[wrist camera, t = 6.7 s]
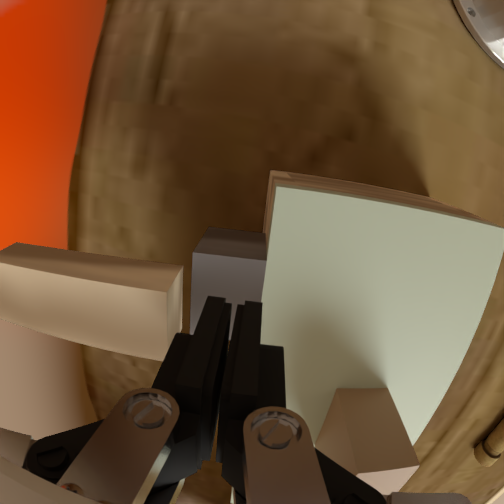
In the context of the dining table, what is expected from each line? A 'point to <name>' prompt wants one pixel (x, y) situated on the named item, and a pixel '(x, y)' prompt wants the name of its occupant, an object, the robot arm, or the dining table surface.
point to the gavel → (491, 446)
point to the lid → (372, 318)
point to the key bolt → (93, 298)
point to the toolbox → (255, 244)
